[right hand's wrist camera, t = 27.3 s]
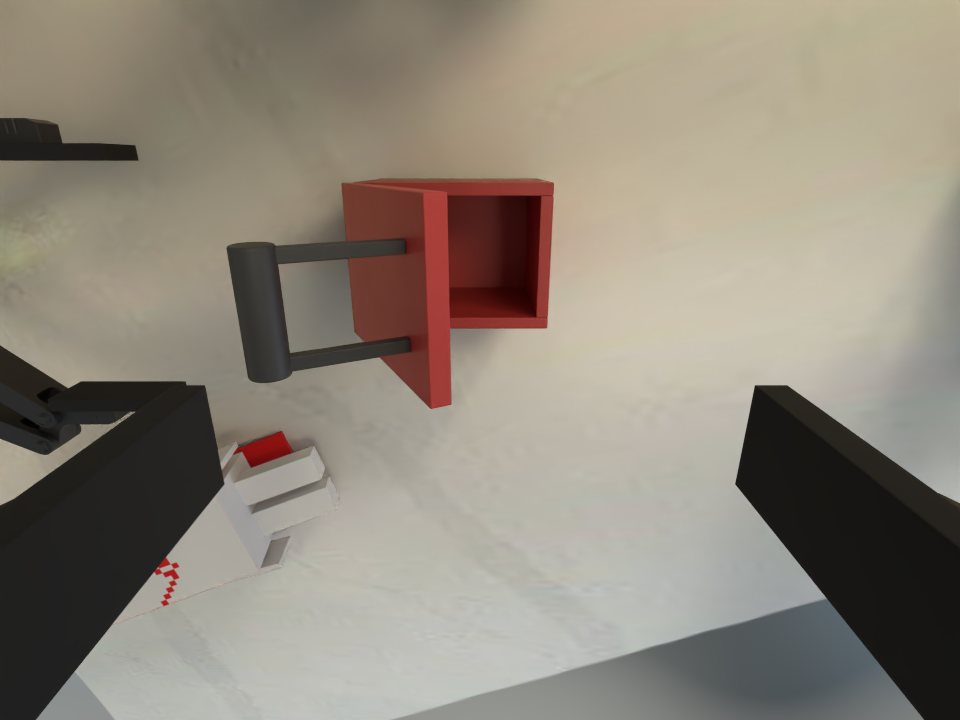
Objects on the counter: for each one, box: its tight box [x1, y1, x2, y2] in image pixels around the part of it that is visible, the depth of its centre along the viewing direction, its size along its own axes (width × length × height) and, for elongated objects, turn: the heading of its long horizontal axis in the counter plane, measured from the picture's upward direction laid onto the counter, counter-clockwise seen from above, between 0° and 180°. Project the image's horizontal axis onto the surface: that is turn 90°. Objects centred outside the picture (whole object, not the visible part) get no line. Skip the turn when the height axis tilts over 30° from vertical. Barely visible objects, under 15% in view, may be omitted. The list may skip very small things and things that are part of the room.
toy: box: [112, 431, 340, 625], centre depth 52 cm, size 12×13×30 cm
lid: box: [227, 183, 451, 409], centre depth 28 cm, size 14×10×9 cm
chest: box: [354, 179, 554, 328], centre depth 42 cm, size 14×10×11 cm
